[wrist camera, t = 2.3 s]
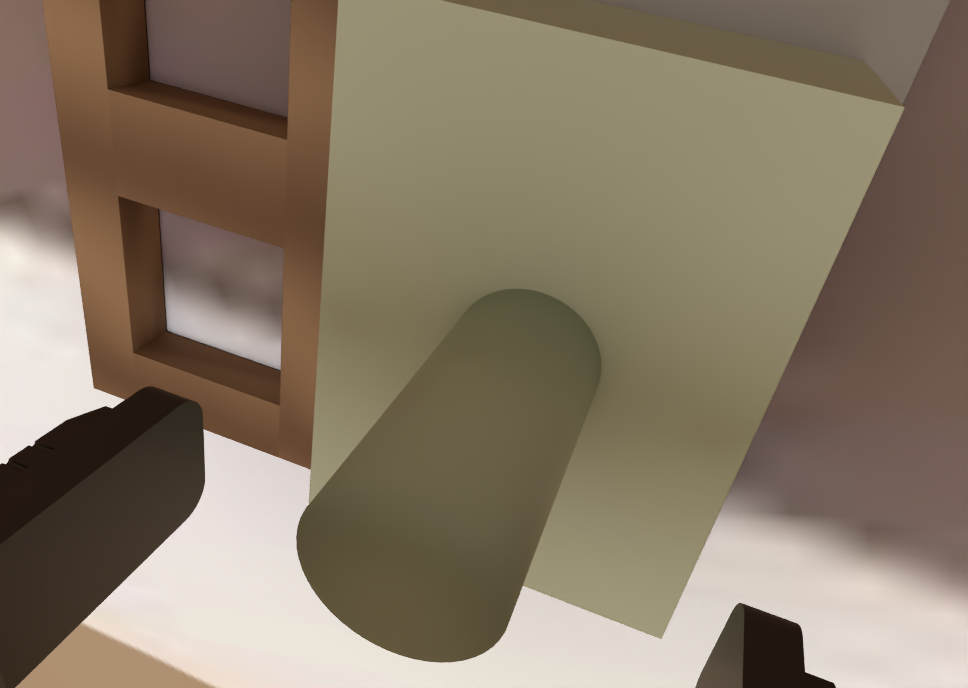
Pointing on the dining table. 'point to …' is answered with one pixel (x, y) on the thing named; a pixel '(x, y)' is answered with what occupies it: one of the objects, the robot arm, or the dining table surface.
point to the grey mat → (824, 27)
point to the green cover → (558, 300)
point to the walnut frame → (193, 211)
